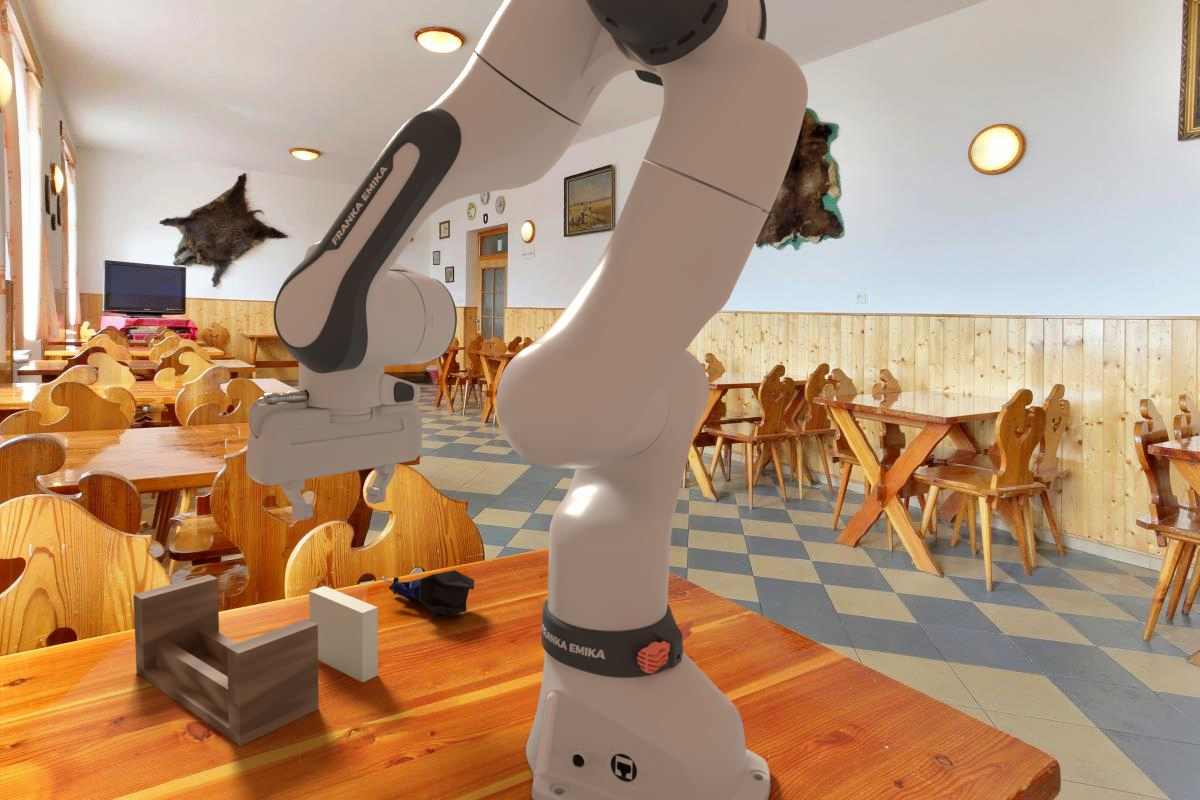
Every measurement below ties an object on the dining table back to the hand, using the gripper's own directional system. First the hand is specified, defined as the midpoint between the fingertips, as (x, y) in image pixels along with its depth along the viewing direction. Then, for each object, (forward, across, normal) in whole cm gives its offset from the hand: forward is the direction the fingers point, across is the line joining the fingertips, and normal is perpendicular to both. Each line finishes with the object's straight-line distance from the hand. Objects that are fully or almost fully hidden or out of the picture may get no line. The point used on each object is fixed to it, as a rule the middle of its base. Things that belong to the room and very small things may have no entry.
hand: (341, 509), depth 78 cm
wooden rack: (+18, -11, +4) cm, 22 cm away
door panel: (+18, 0, -1) cm, 18 cm away
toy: (+19, +17, +4) cm, 26 cm away
